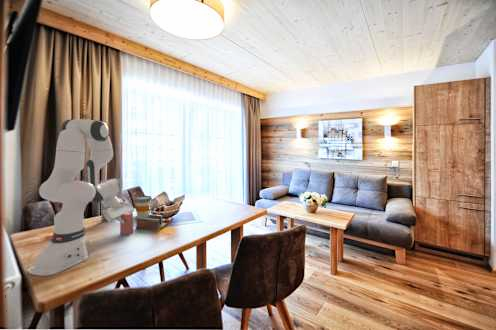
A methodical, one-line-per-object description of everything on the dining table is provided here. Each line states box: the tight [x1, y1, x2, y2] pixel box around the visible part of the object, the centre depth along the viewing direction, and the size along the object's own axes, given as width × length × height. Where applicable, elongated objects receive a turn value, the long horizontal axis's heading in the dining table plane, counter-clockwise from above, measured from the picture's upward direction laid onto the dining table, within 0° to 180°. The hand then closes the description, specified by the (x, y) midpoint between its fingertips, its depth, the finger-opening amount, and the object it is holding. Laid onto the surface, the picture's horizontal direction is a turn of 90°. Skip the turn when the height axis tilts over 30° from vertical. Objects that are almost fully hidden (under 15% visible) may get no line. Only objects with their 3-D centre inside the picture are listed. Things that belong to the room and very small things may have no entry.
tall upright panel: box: [100, 178, 123, 223], centre depth 165 cm, size 14×6×30 cm, turn 168°
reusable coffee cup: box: [134, 195, 153, 218], centre depth 174 cm, size 13×13×15 cm
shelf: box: [135, 217, 168, 233], centre depth 150 cm, size 12×16×8 cm
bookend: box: [147, 213, 163, 224], centre depth 154 cm, size 1×10×6 cm, turn 80°
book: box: [119, 212, 134, 236], centre depth 139 cm, size 4×6×13 cm, turn 80°
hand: (127, 221), depth 139 cm, fingers closed on book, 4 cm apart
